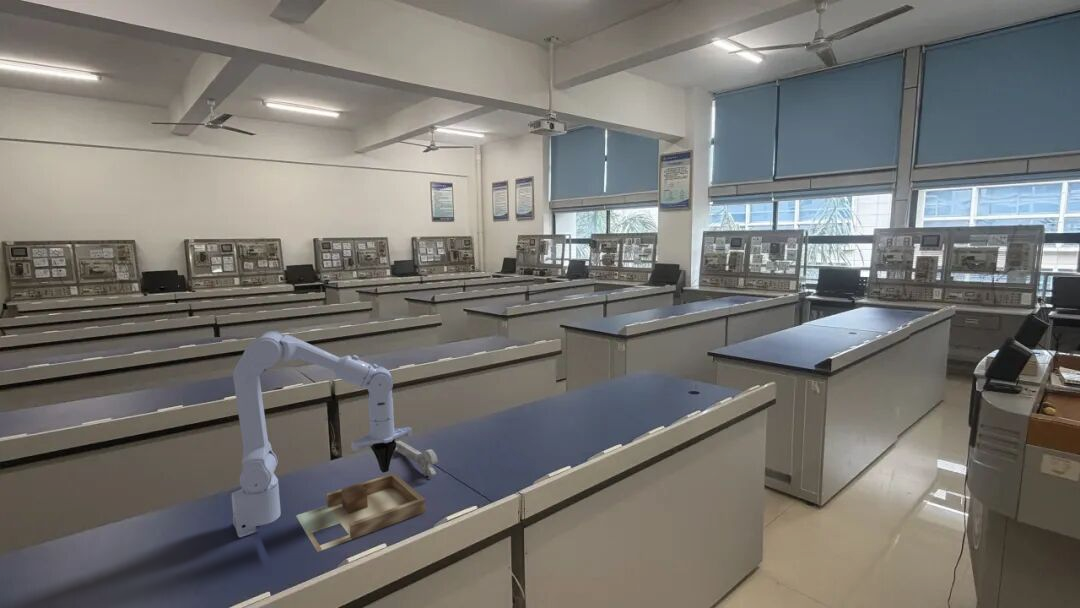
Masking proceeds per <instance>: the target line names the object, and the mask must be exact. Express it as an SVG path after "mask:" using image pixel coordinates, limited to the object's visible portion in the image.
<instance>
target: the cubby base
mask: <svg viewBox="0 0 1080 608" xmlns="http://www.w3.org/2000/svg"><path fill="white" fill-rule="evenodd" d="M360 483H361V484H362V485H363V486H364V487H365V488H366V489H367V502H368V507H367V508H364V509H361V510H359V511H356V512H353V513H350V514H348V512H347V511H346V510H345V509H344V507H343V506H342V491H341V488H340V489H337V490H334V491H331V492H328V493H326V505H324V506H321V507H318V508H315V509H312V510H308V511H305V512H302V513H299V514H296V515H295V517H296V518H297V521H298V522H299V524H300V525H301V528H303V529H302V530H304V532H305V534H306V537H308V539H309V541H310V543H311V544H312V546H313V547H314V549H315V551H316V552H317V553H319V552H322V551H324V550H327V549H330V548H332V547H334V546H338V545H340V544H343V543H346V542H349V541H351V540H354V539H357V538H359V537H361V536H365V535H367V534H369V533H372V532H373V533H374V532H376V531H378V530H381V529H383V528H386V527H390V526H391V525H394V524H398V523H400V522H402V521H403V522H404V521H405V520H407V519H411V518H413V517H416V516H419V515H422V514H424V513H426V499H425V497H423V496H422V495H420V494H419V493H418V492H417V491H416V490H415V489H413V488H412V487H411V486H410V485H409V484H408V483H407V482H406V481H404V480H403V479H402V478H401V477H400V476H399V475H397V474H396V473H395V472H392V473H389V474H386V475H382V476H379V477H377V478H373V479H370V480H366V481H364V482H360ZM339 524H340V526H342V528H343V529H344V530H345V532H346V533H347V535H344V536H342V537H340V538H336V539H333V540H332V541H329V542H326V543H323V544H319V542H318V541H317V539H316V537H315V535H314V533H316V532H320V531H322V530H325V529H328V528H331V527H333V526H336V525H339Z"/></svg>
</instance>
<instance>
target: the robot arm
mask: <svg viewBox="0 0 1080 608" xmlns="http://www.w3.org/2000/svg"><path fill="white" fill-rule="evenodd" d="M282 357H283V362H284V363H286V362H289V361H295V360H299V359H300V360H302V361H304V362H308V363H310V364H314V365H317V366H319V367H323V368H325V369H328V370H331V371H333V372H334V374H335V377H336V378H337V379H339V380H342V381H345V382H347V383H350V384H352V385H355V386H357V387H360V388H361V389H362V388H366V389H367V391H368V397H369V398H368V418H369V419H368V422H369V424H368V425H369V434H367V435H365V436H363V437H360V438H358V439H354V440H352V441H351V445H350V446H351V450H352V451H354V452H357V451H359V450H361V449H365V448H369V447H370V449H371V450H372V452H373V454H374V456H375V458H376V461H377V463H378V465H379V471H381V472H382V473H388V472H389V471H390V466H391V461H392V458H393V456H394V455H393V454H394V452H396V450H395V449H396V446H397V443H396V442H395V440H397V439H398V440H399V439H402V438H406V437H408V438H410V437H413V428H411V427H409V426H406V427H401V428H395V418H394V417H395V416H394V415H395V414H394V398H393V391H392V390H393V386H394V383H393V379H392V375H391V373H390V371H389V370H388V369H387V368H385V367H384V366H381V365H377V364H376V363H373V364H371V363H368V362H365V361H363V360H361V359H359V356H358V355H355V354H353V355H352V356H351V355H349V354H348V355H345V356H340V357H339V356H337V355H334V354H333V353H331V352H328V351H327V350H324V349H322V348H319V347H317V346H315V345H313V344H310V343H308V342H306V341H304V340H302V339H299V338H298V337H295V336H293V335H289V334H285V335H284V333H282V332H279V331H276V330H269V331H266V332H264V333H263V334H261V336H259V337H257V338H256V339H255V340H254V341H253V342H251V344H250V345H248V346H247V347H246V348H245V349H244V352H243V354H242V355H241V357H240V358H239V359H238V360H239V361H238V362H237V364H236V365H235V368H234V369H233V371H232V378H233V379H232V380H233V384H234V385H233V386H234V391H235V398H236V406H237V412H238V419H239V426H240V432H241V433H240V434H241V440H242V441H241V442H242V446H243V447H242V448H243V453H242V459H241V466H242V469H241V473H240V475H239V480H238V481H239V485H240V487H241V488H240V489H239V490H237V491H234V492H232V493H231V505H232V524H233V526H234V528H235V529H234V530H235V531H236V535H237V537H238V538H243V537H246V536H249V535H252V534H256V533H258V532H259V530H258V528H257V527H260V526H265V525H268V524H270V523H273V522H274V521H277V520H278V519H279V517H281V514H282V513H281V501H280V487H279V479H278V477H277V476H276V474H275V471H276V469H277V467H278V465H279V461H278V460H279V459H278V457H277V455H276V454H275V453H274V451H273V449H272V444H271V443H270V440H269V438H268V430H267V424H266V423H267V422H266V416H265V407H264V400H263V394H262V386H261V379H260V375H261V374H262V373H263V372H264V371H265V370H266V369H267V368H269V367H271V366H273V365H275V364H277V363H278V362H279V361H280V360H281V358H282Z"/></svg>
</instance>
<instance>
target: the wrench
mask: <svg viewBox="0 0 1080 608" xmlns="http://www.w3.org/2000/svg"><path fill="white" fill-rule="evenodd" d="M395 442H396V443H397V446H396V449H395V452H397V453H399V454H401V455H402V456H404V457H406V458H408V459H409V460H410V461H413V462H415V464H417V465H418V466H419V467H420V469H421V471H422V473H423V476H424V477H425V478H427V477H426V476H428V477H435V476H436V473H437V472H436V470H435V469H434V467H433V466H432V465H435V464H438V463H439V459H438V457H437V453H435V450H433V449H431V448H430V449H426V450H424V451H423V452H421V451H420V450H418V449H416V448H415V447H412V446H410V445H409V444H407V443H405V442H404V441H402V440H401V439H400V440H399V439H398V440H396V441H395Z"/></svg>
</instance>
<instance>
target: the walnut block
mask: <svg viewBox="0 0 1080 608" xmlns="http://www.w3.org/2000/svg"><path fill="white" fill-rule="evenodd" d="M361 483H362V482H358V483H354V484H351V485H348V486H345V487H342V488H340V489H341V491H342V506H343V507H344V509H345V510H346V511H347V512H348V514H350V513H353V512H356V511H359V510H361V509H364V508H367V507H368V502H367V489H366V488H365V487H364V486H363V485H362V484H361Z"/></svg>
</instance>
